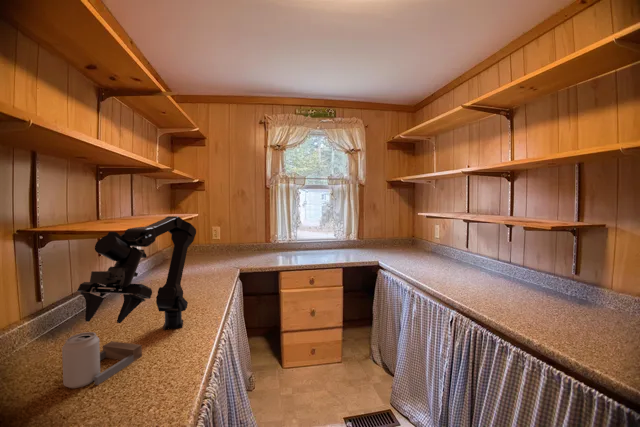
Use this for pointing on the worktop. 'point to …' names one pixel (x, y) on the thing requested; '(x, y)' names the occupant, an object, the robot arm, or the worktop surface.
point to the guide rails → (112, 368)
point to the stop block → (122, 350)
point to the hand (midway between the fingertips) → (102, 322)
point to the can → (80, 359)
